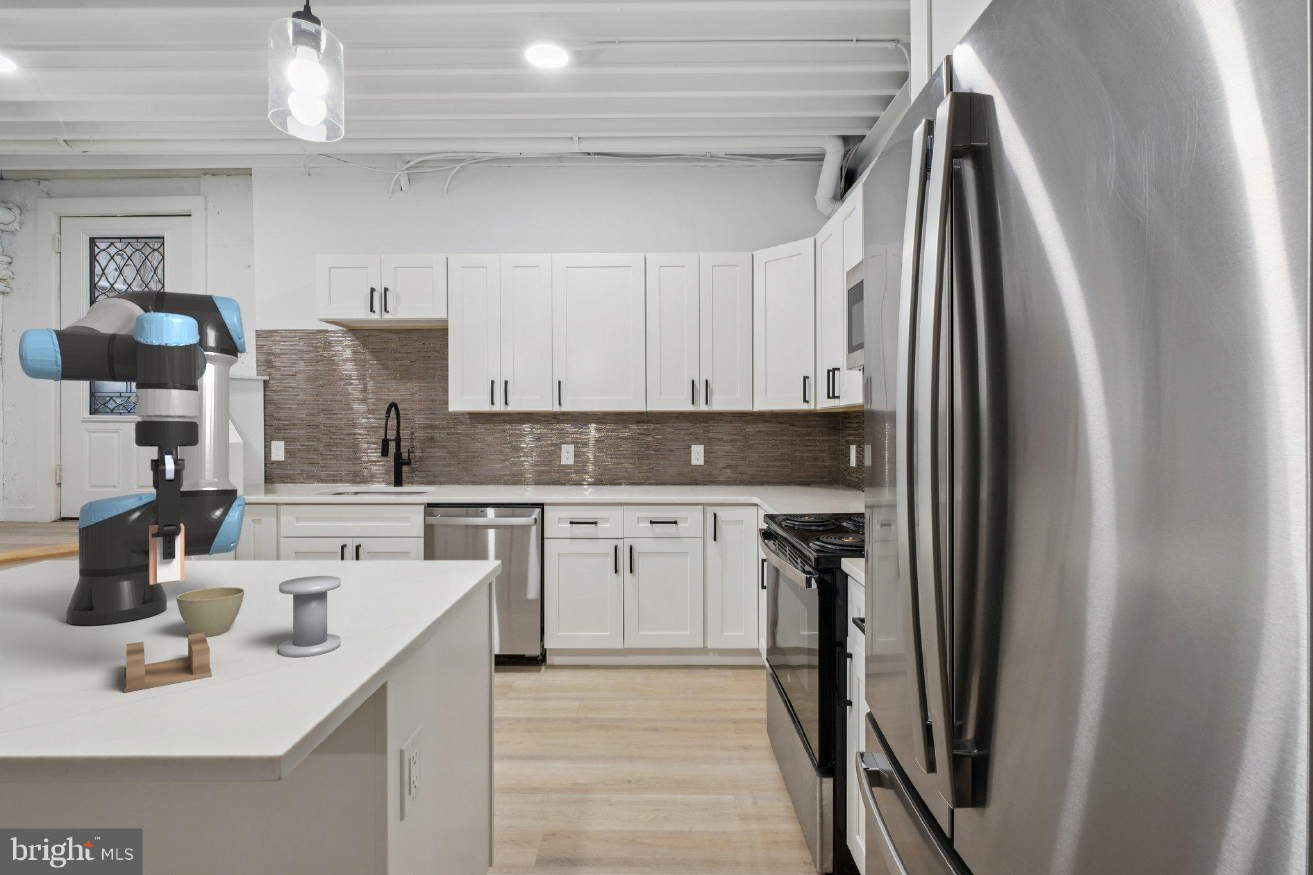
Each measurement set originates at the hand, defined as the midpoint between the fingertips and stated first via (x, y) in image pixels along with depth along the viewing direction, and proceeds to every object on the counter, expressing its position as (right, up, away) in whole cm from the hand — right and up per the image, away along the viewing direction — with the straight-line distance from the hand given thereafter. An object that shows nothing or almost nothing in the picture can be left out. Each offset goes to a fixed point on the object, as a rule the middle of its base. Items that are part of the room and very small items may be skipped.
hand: (167, 577), depth 97 cm
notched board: (0, -14, 0) cm, 14 cm away
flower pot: (-7, -14, +20) cm, 26 cm away
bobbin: (+15, -14, +12) cm, 24 cm away
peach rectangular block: (0, 0, 0) cm, 0 cm away
